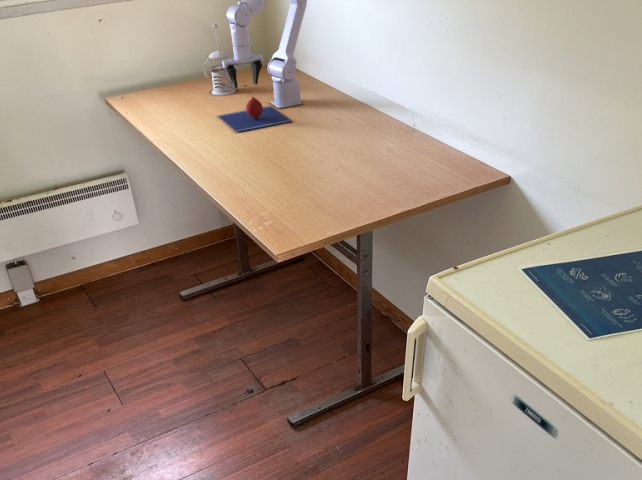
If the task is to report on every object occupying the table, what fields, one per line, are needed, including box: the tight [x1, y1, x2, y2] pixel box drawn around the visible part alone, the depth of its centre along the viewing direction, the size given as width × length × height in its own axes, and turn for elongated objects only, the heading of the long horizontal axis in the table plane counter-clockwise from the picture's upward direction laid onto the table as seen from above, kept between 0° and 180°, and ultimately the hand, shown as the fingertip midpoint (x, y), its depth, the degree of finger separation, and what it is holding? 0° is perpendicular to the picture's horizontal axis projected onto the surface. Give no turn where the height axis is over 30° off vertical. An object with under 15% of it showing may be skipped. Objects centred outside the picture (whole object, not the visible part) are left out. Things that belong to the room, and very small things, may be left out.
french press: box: [202, 23, 237, 96], centre depth 257 cm, size 10×12×25 cm
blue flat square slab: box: [218, 105, 292, 134], centre depth 236 cm, size 20×20×1 cm
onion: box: [245, 95, 264, 119], centre depth 233 cm, size 6×6×8 cm
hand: (245, 85), depth 234 cm, fingers open, 7 cm apart
